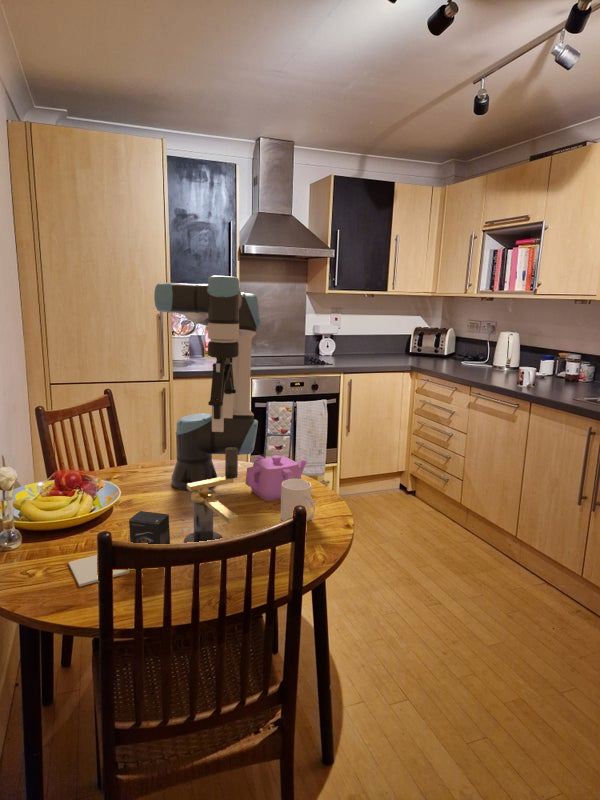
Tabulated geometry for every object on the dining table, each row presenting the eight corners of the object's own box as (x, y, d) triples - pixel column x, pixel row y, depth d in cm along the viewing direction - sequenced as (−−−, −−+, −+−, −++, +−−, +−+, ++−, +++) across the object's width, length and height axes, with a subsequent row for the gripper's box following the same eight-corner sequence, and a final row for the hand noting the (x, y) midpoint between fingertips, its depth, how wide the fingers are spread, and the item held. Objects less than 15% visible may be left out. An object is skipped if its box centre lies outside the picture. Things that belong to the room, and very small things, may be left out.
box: (171, 553, 128) (170, 513, 126) (160, 565, 123) (159, 523, 121) (141, 549, 130) (140, 509, 128) (129, 560, 125) (128, 518, 122)
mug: (302, 532, 142) (303, 496, 140) (274, 517, 151) (275, 482, 148) (324, 523, 148) (326, 488, 146) (296, 509, 156) (297, 476, 154)
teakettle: (243, 499, 163) (243, 461, 160) (258, 480, 179) (259, 446, 177) (295, 505, 160) (296, 467, 157) (306, 485, 176) (307, 451, 173)
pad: (68, 564, 122) (68, 562, 122) (116, 552, 128) (116, 550, 128) (79, 586, 113) (79, 584, 113) (129, 572, 119) (129, 570, 119)
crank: (217, 526, 117) (217, 476, 114) (183, 497, 132) (183, 452, 129) (268, 513, 125) (269, 466, 122) (231, 487, 140) (231, 445, 137)
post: (177, 539, 136) (177, 496, 133) (212, 530, 141) (212, 489, 139) (193, 555, 128) (193, 510, 125) (229, 545, 133) (229, 502, 131)
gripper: (217, 335, 139) (217, 412, 143) (196, 345, 114) (196, 437, 119) (245, 336, 139) (244, 413, 143) (230, 346, 114) (229, 438, 119)
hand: (222, 424), depth 131 cm, fingers open, 13 cm apart
